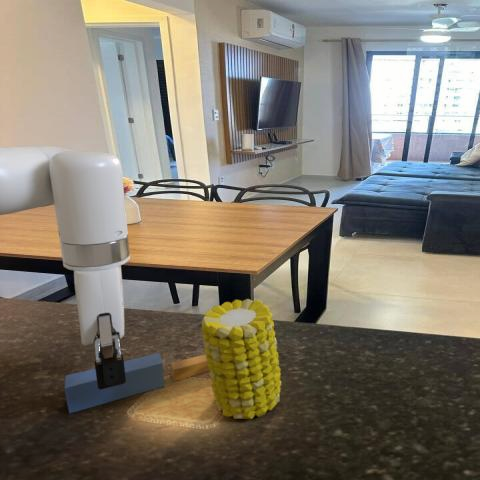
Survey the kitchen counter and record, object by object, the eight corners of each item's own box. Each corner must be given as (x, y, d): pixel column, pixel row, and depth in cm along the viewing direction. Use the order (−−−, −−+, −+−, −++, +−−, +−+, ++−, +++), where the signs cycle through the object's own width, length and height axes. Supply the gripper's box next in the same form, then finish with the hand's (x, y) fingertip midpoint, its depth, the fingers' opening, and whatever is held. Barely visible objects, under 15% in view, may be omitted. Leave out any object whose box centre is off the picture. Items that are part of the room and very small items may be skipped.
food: (285, 425, 52) (209, 437, 50) (277, 359, 62) (213, 367, 60) (282, 343, 44) (193, 354, 43) (274, 284, 54) (201, 290, 53)
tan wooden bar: (174, 381, 58) (172, 370, 57) (171, 374, 59) (170, 363, 59) (249, 359, 64) (249, 349, 63) (245, 353, 65) (245, 343, 65)
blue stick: (161, 375, 59) (159, 352, 58) (164, 386, 57) (162, 363, 55) (70, 400, 53) (65, 375, 52) (69, 413, 51) (64, 388, 50)
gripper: (65, 235, 54) (80, 341, 59) (57, 278, 40) (77, 413, 45) (124, 230, 58) (133, 330, 63) (135, 268, 44) (147, 394, 49)
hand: (110, 365), depth 54 cm, fingers open, 9 cm apart
